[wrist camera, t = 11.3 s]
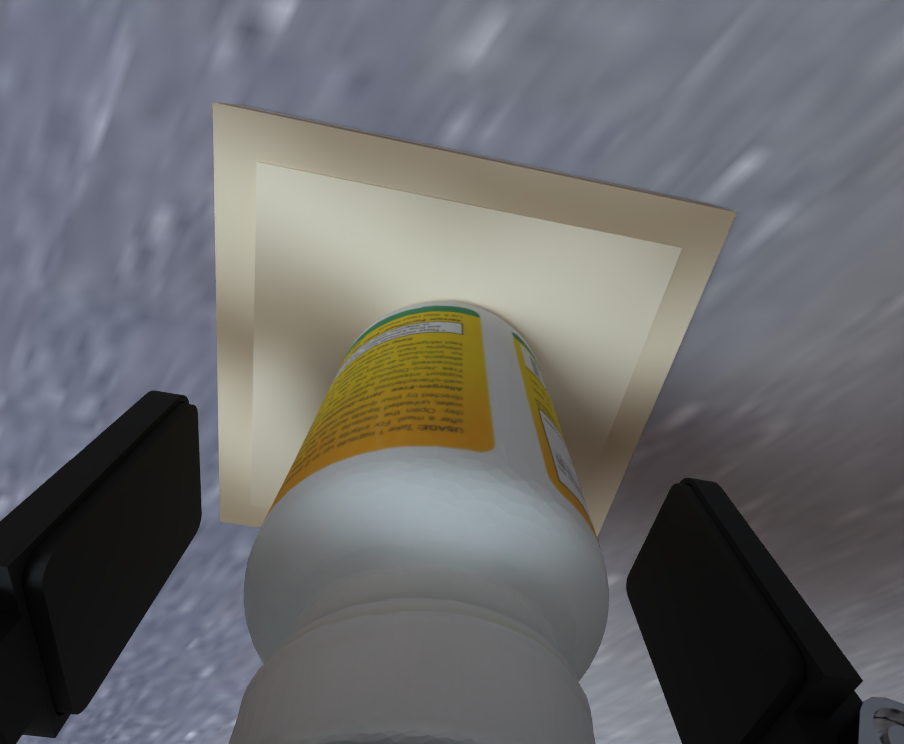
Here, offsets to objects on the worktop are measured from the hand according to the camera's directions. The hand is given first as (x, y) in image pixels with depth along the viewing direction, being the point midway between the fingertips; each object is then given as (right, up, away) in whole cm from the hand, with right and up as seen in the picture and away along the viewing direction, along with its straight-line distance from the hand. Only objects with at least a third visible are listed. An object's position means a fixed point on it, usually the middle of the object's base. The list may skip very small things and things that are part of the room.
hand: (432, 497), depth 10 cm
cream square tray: (0, +3, +5) cm, 6 cm away
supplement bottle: (0, +2, +4) cm, 5 cm away
